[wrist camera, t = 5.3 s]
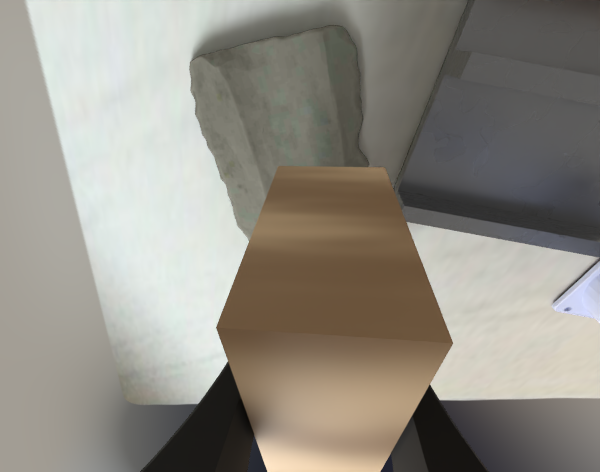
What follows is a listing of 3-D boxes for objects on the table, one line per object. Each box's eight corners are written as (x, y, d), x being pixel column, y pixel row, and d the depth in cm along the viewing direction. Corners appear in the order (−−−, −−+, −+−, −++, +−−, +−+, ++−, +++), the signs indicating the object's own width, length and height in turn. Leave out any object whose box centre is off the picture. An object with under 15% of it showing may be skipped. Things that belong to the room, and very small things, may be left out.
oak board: (355, 333, 19) (368, 491, 12) (290, 329, 19) (270, 480, 13) (384, 167, 11) (453, 342, 5) (278, 166, 12) (216, 327, 5)
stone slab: (348, 14, 15) (175, 63, 15) (359, 8, 12) (155, 66, 13) (376, 295, 27) (279, 313, 28) (384, 318, 25) (278, 336, 26)
